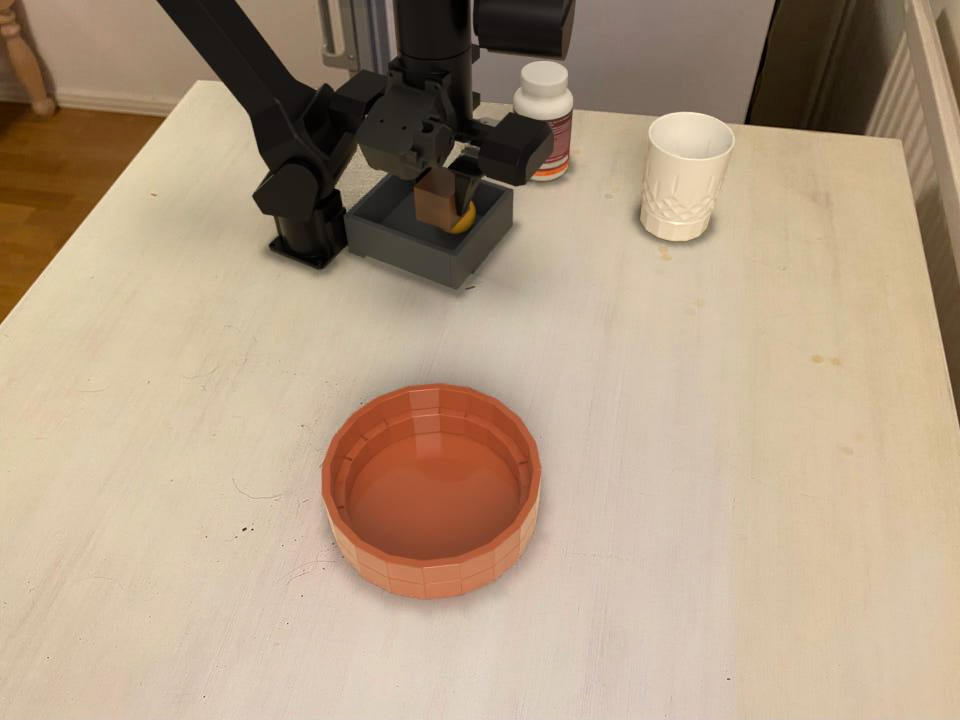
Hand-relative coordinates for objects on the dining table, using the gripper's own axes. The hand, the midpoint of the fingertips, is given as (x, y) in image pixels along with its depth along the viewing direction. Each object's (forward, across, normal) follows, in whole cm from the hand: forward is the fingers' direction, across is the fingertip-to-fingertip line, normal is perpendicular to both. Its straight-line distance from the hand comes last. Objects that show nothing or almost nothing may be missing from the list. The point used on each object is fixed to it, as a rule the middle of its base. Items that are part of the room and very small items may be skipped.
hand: (442, 207), depth 73 cm
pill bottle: (+7, +1, +18) cm, 20 cm away
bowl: (+7, +13, -24) cm, 28 cm away
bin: (+7, -3, +2) cm, 8 cm away
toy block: (+1, 0, 0) cm, 1 cm away
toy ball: (+6, 0, +5) cm, 8 cm away
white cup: (+7, +17, +16) cm, 25 cm away
